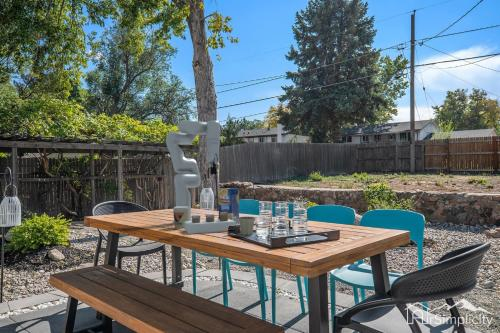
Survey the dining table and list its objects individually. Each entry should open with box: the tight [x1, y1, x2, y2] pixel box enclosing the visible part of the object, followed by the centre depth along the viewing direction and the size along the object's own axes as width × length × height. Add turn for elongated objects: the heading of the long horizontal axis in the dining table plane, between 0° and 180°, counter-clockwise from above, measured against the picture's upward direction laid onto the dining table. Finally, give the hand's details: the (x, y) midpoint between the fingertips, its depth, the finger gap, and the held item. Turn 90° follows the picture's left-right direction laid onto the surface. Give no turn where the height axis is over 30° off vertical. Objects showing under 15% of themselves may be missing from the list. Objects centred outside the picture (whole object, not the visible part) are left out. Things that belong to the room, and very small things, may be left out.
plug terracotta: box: [218, 211, 228, 221], centre depth 218 cm, size 4×4×8 cm
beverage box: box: [218, 187, 240, 225], centre depth 240 cm, size 7×11×22 cm, turn 52°
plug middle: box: [205, 214, 215, 222], centre depth 215 cm, size 4×4×8 cm
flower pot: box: [238, 216, 257, 236], centre depth 202 cm, size 9×9×9 cm
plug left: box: [191, 214, 201, 223], centre depth 212 cm, size 4×4×8 cm
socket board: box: [184, 219, 237, 235], centre depth 215 cm, size 12×26×5 cm, turn 112°
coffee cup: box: [172, 206, 189, 229], centre depth 228 cm, size 9×9×12 cm
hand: (213, 174), depth 222 cm, fingers closed
